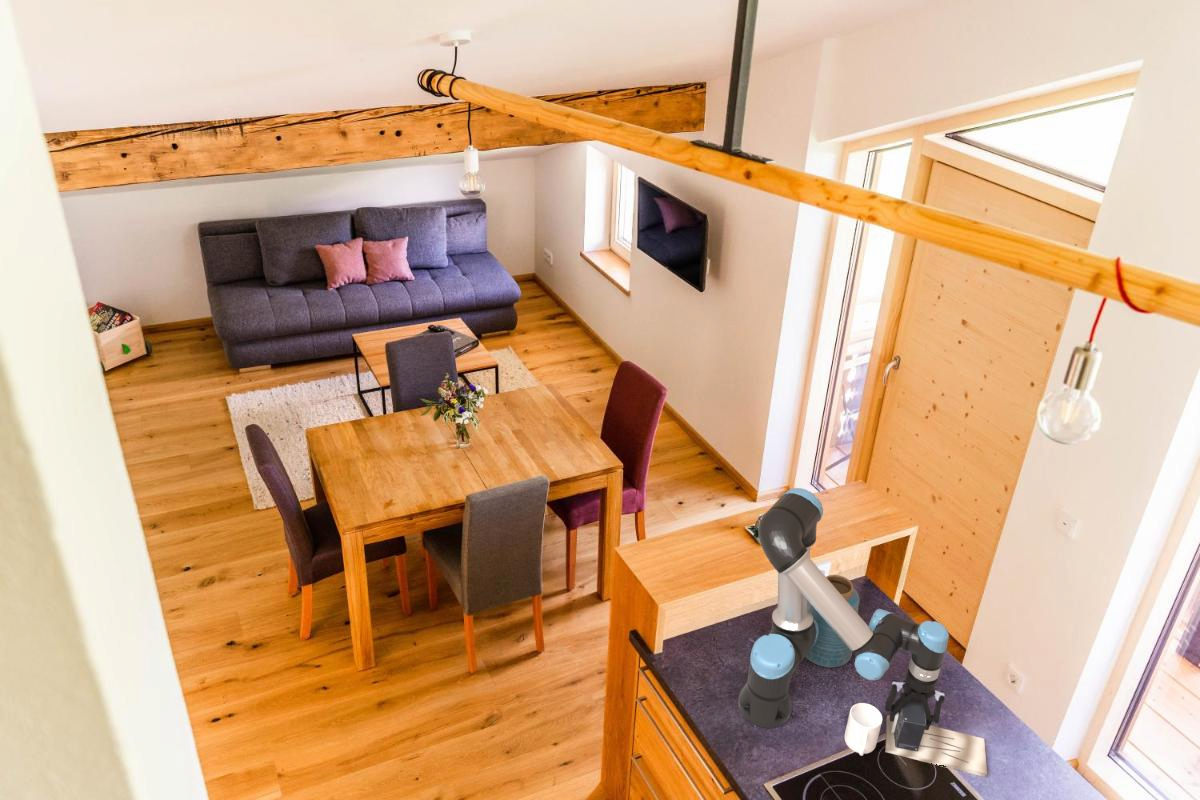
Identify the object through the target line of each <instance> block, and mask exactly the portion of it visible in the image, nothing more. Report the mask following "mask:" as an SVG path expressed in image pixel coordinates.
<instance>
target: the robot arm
mask: <svg viewBox="0 0 1200 800" xmlns="http://www.w3.org/2000/svg"><path fill="white" fill-rule="evenodd" d="M823 514H824V508H823V504H822V502H821V501H820V499H819V498H818V497H817V496H816V495H815V493H813V492H812V491H809V490H808V489H805V488H801V487H795V488H794V487H793V488H791V489H789V490H786V492H784V493H783V494H781V496H780V497H779V498H778V500H777V501H776V502H775V503H774V504H773V505H772V506H771V507H770V508H769V509H768V511H766V512H765V513H764V514H763V515H762V517H761V519H760V521H759V523H758V539H759V542H760V543H759V544H760V545H761V548H762V551H763V552H764V555H765V557H766V558H767V560H768V561H769V563H770V564H771V565H772V566H773V569H775V570H776V572H777V607H776V608H775V609H774V610H773V611H772V614H771V630H770V632H769V633H768V634H767V635H766V634H763V635H762V636H760V637H759V638H757V639H756V640H755V642H754V644H753V646H752V648H751V651H750V652H751V653H750V659H749V660H750V661H749V667H748V668H749V669H748V676H747V681H746V683H745V685H743V687H742V689H741V690H740V692H739V695H738V702H737V705H738V710H739V712H740V714H741V716H742V717H743V718H744V719H745V720H746V721H748V722H749V723H750V724H752V725H754V726H757V727H760V728H764V729H773V728H774V729H775V728H779V727H782V726H783V725H784V724H786V723H787V722H788V720H790V717H791V713H792V708H793V706H792V705H793V704H792V699H791V696H790V693H789V692H790V691H789V688H790V683H791V679H792V676H793V674H794V673H795V671H796V669H797V668H798V667H799V665H801V663H802V661H803V660H804V658H806V657H805V656H806V654H807V653H808V651H809V650H810V649H811V648H812V647H813V646H814V644H815V642H816V639H817V637H818V633H819V629H818V624H817V622H816V620H814V619H813V618H814V617H813V615H812V613H811V612H810V611H809V610H808V605H809V602H810V604H811V605H812V606H813V607H814V608H815V609H816V611H817V612H818V613H819V614H820V615H821V616H822V617H823V619H824V620H825V621H826V622H827V623H828V624H829V626H830V627H831V628H832V629H833V630H834V631H835V633H836V634H837V635H838V636H839V637H840V638H841V639H842V641H843V642H844V643H845V644H846V645H847V646H848V648H849V649H850V650H851V651H852V655H854V656H855V661H854V667H855V671H856V672H857V673H858V674H859V675H860V676H861V677H862V678H863V679H865V680H869V681H877V680H880V679H881V678H883V676H884V675H885V674H886V672H887V671H888V670H889V669H890V665H891V663H892V662H893V660H894V659H895V657H896V656H897V654H898V651H899V650H900V649H902V650H903V651H906V652H909V653H911V654H912V655H911V657H910V661H909V664H908V668H907V672H906V676H905V679H904V680H903V681H902V682H901V681H900V682H899V681H898V680H896V679H892V682H891V683H892V685H891V689H890V691H889V694H888V696H887V699H886V700H885V701H886V702H885V709H884V710H885V711H886V712H890V713H889V716H890V721H891V722H892V725H891V732H892V733H894V731H895V728H896V724H897V720H898V716H899V710H900V709H901V708H902V707H903V706H904V705H905V704H906V703H907V702H909V701H910V700H911V699H917V700H919V701H922V703H923V706H924V714H925V721H926V727H925V730H929V727H930V726H932V723H935V724H939V723H940V716H941V709H942V704H943V703H944V701H945V699H946V698H945V695H946V694H945V691H944V690H940V691H938V690H936V684H937V681H938V677H939V675H940V671H941V667H942V664H943V661H944V657H945V654H946V652H947V648H948V641H949V638H950V634H949V631H948V629H947V627H945V625H944V624H942V623H940V622H938V621H934V620H933V621H931V620H925V621H923V622H921V623H920V624H918V623H915V622H914V621H910V619H909V620H908V619H907V618H904V617H902V616H899V615H897V614H895V613H894V612H890V611H887V610H885V609H881V608H878V609H876V610H875V611H874V612H873V615H872V616H871V619H870V621H869V624H867V623H866V622H865V621H864V619H863V618H862V617H861V616H860V615H859V613H856V611H855V610H854V609H853V608H852V607H851V606H850V604H849V603H848V602H847V601H846V600H845V599H844V597H843V596H842V595H841V594H840V593H839V592H838V590H837V589H836V588H835V587H834V586H833V585H832V583H831V582H830V581H829V580H828V579H827V578H826V575H825V574H824V573H823V572H822V571H821V570H820V568H819V567H818V566H817V565H816V564H815V563H814V561H813V560H812V559H811V555H810V554H811V547H813V546H814V545H815V544H816V541H817V525H818V523H820V521H821V520H822V517H823ZM901 689H903V690H904V691H903V692H902V693H903V694H902V695H901V696H900V697H899V696H898V692H900V690H901ZM897 696H898V698H897V700H896V701H895V699H896V697H897ZM933 696H934V699H935V705H934V712H933V714H932V713H931V707H930V702H929V699H930V698H932V697H933ZM922 737H923V736H922Z"/></svg>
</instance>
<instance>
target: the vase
mask: <svg viewBox="0 0 1200 800" xmlns="http://www.w3.org/2000/svg"><path fill="white" fill-rule="evenodd" d="M825 577H826V578H827V579H828V580H829V581H830V582H831V583H832V585H833V586H834V587H835V588H836V589H837V590H838V592H839V593H840V594H841V595H842V596H843V597H844V599H845V600H846V601H847V602H848V603H849V604H850V606H851V607H852V608H853V609H854V610H855V611H856V613H857V614H859V607H860V606H859V605H860V595H859V594H858V591H857V590H856V589H855V588H854V584H853V582H852V581H850V579H848V578H847V577H845V576H843V575H840V574H830V575H827V576H826V575H825ZM808 610H809V611H810V612H811V613H812V615H813V617H814V618H813V619H814V620H816V622H817V624H818V629H819V633H818V637H817V639H816V642H815V644H814V646H813V647H812V648H811V649H810V650H809V651H808V653H807V654H806V656H805V657H804V658H806V659H807V660H808V661H809V662H811V663H813V664H815V665H817V666H820V667H824V668H837V667H842V666H844V665H846V664H848V662H849V661H850V660H851V659H852V655H853V652H852V651H851V650H850V649H849V648H848V646H847V645H846V644H845V643H844V642H843V641H842V639H841V638H840V637H839V636H838V635H837V634H836V633H835V631H834V630H833V629H832V628H831V627H830V626H829V624H828V623H827V622H826V621H825V620H824V619H823V617H822V616H821V615H820V614H819V613H818V612H817V611H816V609H815V608H814V607H813V606H812V605H811V604H810V602H809V601H808Z"/></svg>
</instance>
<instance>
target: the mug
mask: <svg viewBox="0 0 1200 800" xmlns="http://www.w3.org/2000/svg"><path fill="white" fill-rule="evenodd" d="M882 723H883V715H882V713H881V712H880V709H878V708H877V707H876V706H873V705H872V704H869V703H867V702H859V703H855V704H853V705H852V706H851V708H850V710H849V714H848V717H847V723H846V727H845V732H844V741H845V742H844V743H845V744H846V746H847V747H848V748H849V749H850V750H851V751H853V752H855V753H857V754H859V756H861V757H862V756H864V754H865V755H867V754H869V753H872V752H873V751H874V750H875V749H876V747H877V743H878V740H879V739H878V738H879V736H880V732H881V727H882Z"/></svg>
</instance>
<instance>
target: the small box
mask: <svg viewBox="0 0 1200 800" xmlns="http://www.w3.org/2000/svg"><path fill="white" fill-rule="evenodd" d="M899 692H900V691H899ZM903 693H904V692H900V693H899V696H898V698H899V697H900V696H901V695H902V694H903ZM925 727H926V721H925V711H924V706H923V703H922V701H919V700H917V699H911V700H910V701H909V702H907V703H906V704H905V705H904V706H903V707H902V708H901V709H900V710H899V716H898V720H897V724H896V728H895V731H894V737H895V747H898V748H904V749H909V750H914V751H918V749H919V746H920V743H921V740H922V736H923V733H924V730H925Z"/></svg>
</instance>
